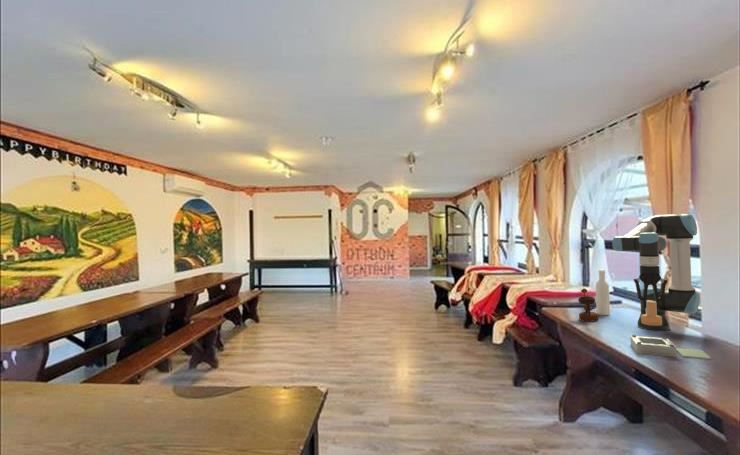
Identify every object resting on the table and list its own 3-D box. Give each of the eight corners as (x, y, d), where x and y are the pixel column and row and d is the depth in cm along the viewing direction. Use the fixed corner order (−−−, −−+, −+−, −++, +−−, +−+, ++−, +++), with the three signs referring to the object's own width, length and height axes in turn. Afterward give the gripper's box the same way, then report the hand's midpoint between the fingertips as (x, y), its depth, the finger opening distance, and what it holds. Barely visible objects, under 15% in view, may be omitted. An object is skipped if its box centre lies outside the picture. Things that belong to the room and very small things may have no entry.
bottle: (612, 315, 258) (610, 270, 258) (599, 315, 259) (597, 270, 259) (607, 313, 265) (605, 269, 266) (594, 313, 267) (593, 269, 267)
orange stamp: (639, 321, 190) (639, 299, 190) (659, 322, 187) (659, 300, 187) (643, 324, 183) (642, 302, 183) (664, 326, 180) (663, 303, 180)
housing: (630, 344, 195) (630, 334, 195) (667, 347, 188) (667, 337, 188) (636, 353, 181) (636, 342, 181) (676, 357, 175) (676, 345, 175)
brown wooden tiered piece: (574, 317, 256) (573, 286, 256) (592, 317, 255) (591, 286, 255) (585, 323, 241) (583, 290, 241) (603, 323, 239) (602, 290, 240)
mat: (675, 349, 186) (675, 347, 186) (701, 351, 182) (701, 350, 182) (682, 356, 175) (682, 355, 175) (711, 359, 171) (711, 357, 171)
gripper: (631, 265, 185) (633, 315, 185) (671, 266, 179) (673, 317, 178) (628, 264, 192) (630, 312, 192) (667, 264, 185) (669, 314, 185)
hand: (651, 314), depth 185 cm, fingers closed on orange stamp, 2 cm apart
